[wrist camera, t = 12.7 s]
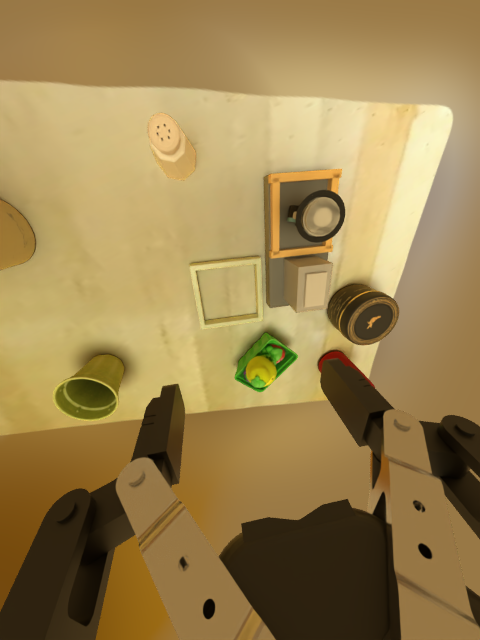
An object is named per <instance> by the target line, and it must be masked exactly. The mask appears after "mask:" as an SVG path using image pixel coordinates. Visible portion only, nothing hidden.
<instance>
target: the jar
mask: <svg viewBox="0 0 480 640" xmlns="http://www.w3.org/2000/svg"><path fill="white" fill-rule="evenodd" d="M328 316H329V319H330V321H331V323H332V324H333V326H334V327H335V328H336V329H338V330H339V331H340V332H341V333H342V335H343V336H344V337H346V338H347V339H348V340H350V341H351V342H353V343H355V344H357V345H369V344H373V343H376V342H378V341H380V340H381V339H383V338H384V337H385V336H387V335H388V334H389V333H390V332H391V330H392V329H393V328H394V326H395V325H396V322H397V320H398V316H399V307H398V305H397V303H396V301H395V300H394V299H393V298H391V297H390V296H388V295H386V294H385V293H383V292H380V291H377V290H374V289H372V288H370V287H368V286H364V285H350V286H347V287H344V288H343V289H341V290H340V291H338V292H337V293H336V294H335V295H334V296H333V298H332V299H331V301H330V303H329V306H328Z"/></svg>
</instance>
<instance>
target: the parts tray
mask: <svg viewBox="0 0 480 640" xmlns="http://www.w3.org/2000/svg"><path fill="white" fill-rule="evenodd" d="M250 264H254V268H255V290H256V312H257V314H249V315H242V316H235V317H227V318H220V319H213V320H205V319H204V314H203V308H202V302H201V296H200V290H199V285H198V279H197V273H196V271H197V270H206V269H215V268H223V267H232V266H241V265H250ZM189 267H190V273H191V278H192V283H193V289H194V294H195V300H196V305H197V310H198V316H199V321H200V326H201V329H208V328H216V327H223V326H230V325H237V324H244V323H251V322H258V321H263V305H262V272H261V258H260V257H259V256H255V257H246V258H237V259H228V260H219V261H210V262H201V263H192V264H190V265H189Z"/></svg>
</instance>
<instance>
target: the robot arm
mask: <svg viewBox="0 0 480 640" xmlns="http://www.w3.org/2000/svg"><path fill="white" fill-rule="evenodd" d="M34 250H35V238H34V234H33V232H32V229H31V227H30V226H29V224H28V222H27V221H26V220H25V218H24V217H23V216H22V215H21V214H20V213H19V212H18V211H17V210H16V209H15V208H14V207H12V206H11V205H9V204H8V203H6V202H5V201H2V200H0V270H3V269H6V268H9V267H12V266H16V265H19V264H22V263H24V262H26V261H27V260H29V259H30V257H31V256H32V255H33V253H34ZM320 383H321V388H322V390H323V392H324V394H325V395H326V397H327V398H328V400H329V401H330V403H331V404H332V406H333V407H334V409H335V411H336V412H337V414H338V415H339V417H340V418H341V420H342V421H343V423H344V424H345V426H346V427H347V429H348V430H349V432H350V433H351V435H352V436H353V438H354V439H355V441H356V443H357V444H358V445H359V446H360V447H361V446H365V445H368V446H369V447H370V448H371V454H370V492H369V493H370V494H369V500H368V505H367V512H365V511H363V510H360V509H356V508H352V507H351V505H350V503H349V501H348V499H346V500H342V501H337V502H332V503H328V504H324V505H322V506H320V507H318V508H317V509H315V510H314V511H312V512H311V513H309V514H308V515H306V516H305V517H303V518H302V519H300V520H289V519H279V518H270V517H268V518H263V519H259V520H255V521H251V522H246V523H242V524H241V525H242V533H240V534H239V535H237V536H236V537H235V538H234V539H232V540H231V541H230V542H229V543H228V545H227V546H226V547H225V548H224V549H223V551H222V552H221V554H220V555H219V557H218V556H217V554H216V552H215V551H214V549H213V548H212V546H211V545H210V544H209V542H208V541H207V539H206V537H205V536H204V534H203V533H202V532H201V530H200V528H199V527H198V525H197V524H196V522H195V521H194V519H193V518H192V516H191V515H190V513H189V512H188V510H187V509H186V507H185V506H184V505H183V503H182V502H180V501H179V500H178V498H177V497H176V496H175V494H174V493H173V491H172V489H171V486H172V485H174V484H178V483H179V478H180V466H181V454H182V443H183V432H184V420H185V407H184V402H183V399H182V395H181V392H180V388H179V385H178V384H173V385H167V386H163V387H162V391H161V395H160V397H157V398H153V399H152V400H151V402H150V403H149V404H148V406H147V407H146V411H145V414H144V419H143V422H142V427H141V428H140V432H139V436H138V439H137V443H136V446H135V449H134V453H133V457H132V459H131V462H130V463H129V464H128V465H127V466H126V467H125V468H124V469H123V470H122V471H121V473H120V475H119V476H118V478H116V479H115V480H114V481H112V482H110V483H108V484H107V485H104V486H103V487H101V488H99V489H97V490H95V491H93V492H91V493H89V492H88V491H87V490H85V489H75V490H72V491H70V492H68V493H67V494H65V495H63V496H62V497H61V498H60V499H59V500H57V501H56V502H55V503H54V504H53V506H52V507H51V508H50V509H49V511H48V512H47V514H46V516H45V517H44V519H43V522H42V524H41V526H40V528H39V530H38V533H37V535H36V537H35V539H34V541H33V543H32V545H31V547H30V550H29V552H28V554H27V556H26V558H25V560H24V563H23V564H22V567H21V569H20V571H19V573H18V575H17V577H16V579H15V582H14V584H13V586H12V588H11V590H10V592H9V595H8V597H7V599H6V601H5V603H4V605H3V608H2V610H1V612H0V640H95V638H96V634H97V629H98V625H99V620H100V615H101V610H102V606H103V601H104V597H105V592H106V587H107V582H108V578H109V573H110V569H111V564H112V560H113V554H114V550H115V547H117V546H118V545H120V544H121V543H123V542H124V541H126V540H128V539H129V538H131V537H132V536H134V535H136V537H137V539H138V541H139V548H140V550H141V553H142V555H143V558H144V560H145V562H146V565H147V567H148V569H149V571H150V573H151V576H152V578H153V581H154V583H155V585H156V587H157V590H158V592H159V594H160V596H161V599H162V601H163V603H164V606H165V608H166V610H167V612H168V615H169V617H170V619H171V622H172V624H173V626H174V628H175V631H176V633H177V635H178V638H179V640H480V596H478V595H477V594H476V593H474V592H473V591H472V590H471V589H469V588H468V587H467V586H466V585H465V582H464V578H463V573H462V569H461V564H460V560H459V556H458V551H457V546H456V542H455V538H454V533H453V529H452V524H451V520H450V516H449V511H448V507H447V503H446V498H445V496H446V497H447V498H448V499H449V501H450V502H451V503H452V504H453V506H454V507H455V508H456V510H457V511H458V512H459V513H460V515H461V516H462V517H463V518H464V520H465V521H466V522H467V524H468V525H469V526H470V527H471V529H472V530H473V531H474V532H475V534H476V535H477V536H478V538H479V539H480V482H479V481H478V480H477V479H476V478H475V476H474V475H473V474H472V473H471V472H470V471H469V470H470V468H471V469H472V470H473V471H474V472H475V473H476V474H477V475H478V476H479V477H480V427H479V426H478V425H477V424H475V423H474V422H472V421H470V420H468V419H465V418H463V417H460V416H455V415H448V416H445V417H444V418H443V419H442V421H441V422H440V423H433V422H424V421H418V420H417V419H416V418H414V417H413V416H412V415H410V414H408V413H406V412H404V411H401V410H395V409H394V408H393V407H392V406H391V405H390V404H389V403H388V402H387V401H386V400H385V399H384V397H383V396H381V394H380V393H379V392H378V391H377V390H376V389H375V388H374V387H373V386H371V384H370V383H369V382H368V381H367V380H366V379H365V378H364V377H363V375H362V374H361V373H360V372H359V371H357V370H355V369H354V368H352V367H350V366H345V365H344V364H343V362H342V361H341V360H340V359H338V358H335V359H329V360H324V361H323V364H322V372H321V380H320Z"/></svg>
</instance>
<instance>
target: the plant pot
mask: <svg viewBox="0 0 480 640" xmlns="http://www.w3.org/2000/svg"><path fill="white" fill-rule="evenodd" d="M123 373H124V366H123V363H122V361H121V360H120V359H119V358H117V357H115V356H113V355H109V354H106V355H97V356H95V357H94V358H93V359H92V360H90V361H89V362H88V363H87V364H86V365H85V366H84V367H83V368H82V369H81V370H80V371H79V372H77V373H76V374H75V375H74V376H72V377H70V378H68V379H66V380H64V381H62V382H61V383H59V384H58V385H57V386H56V388H55V389H54V392H53V402H54V404H55V406H56V407H57V408H58V409H59V410H60V411H61V412H62V413H64V414H65V415H67V416H69V417H71V418H74V419H77V420H83V421H96V420H101V419H104V418H107V417H109V416H110V415H112V414H113V413H114V412H115V411H116V409H117V407H118V404H119V398H118V391H119V387H120V384H121V380H122V376H123Z"/></svg>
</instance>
